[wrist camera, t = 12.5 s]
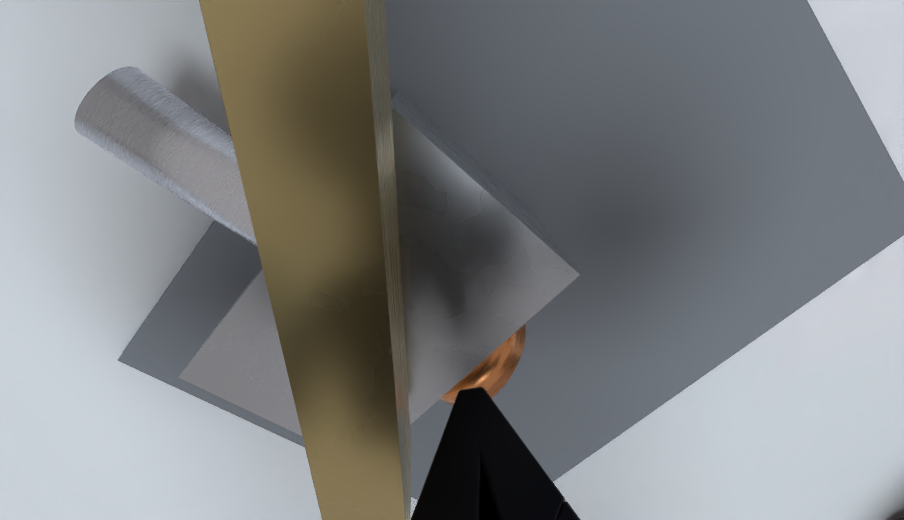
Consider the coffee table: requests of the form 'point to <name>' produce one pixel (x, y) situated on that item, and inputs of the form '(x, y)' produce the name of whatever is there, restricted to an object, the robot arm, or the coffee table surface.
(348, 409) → the keeper
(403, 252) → the block
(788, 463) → the coffee table surface
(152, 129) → the lynch pin
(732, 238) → the mat
